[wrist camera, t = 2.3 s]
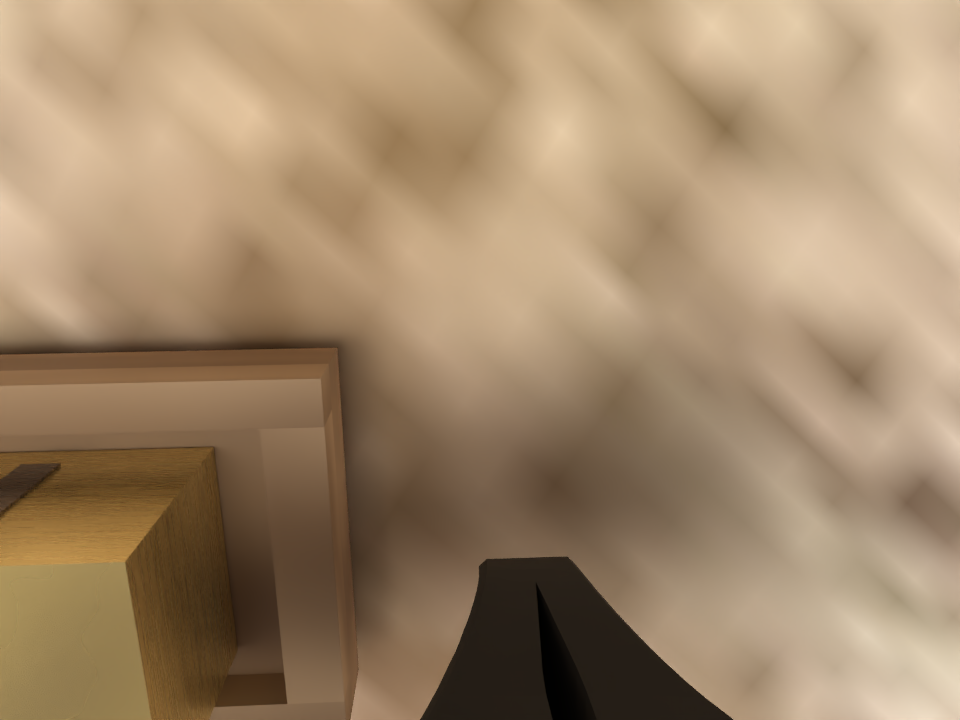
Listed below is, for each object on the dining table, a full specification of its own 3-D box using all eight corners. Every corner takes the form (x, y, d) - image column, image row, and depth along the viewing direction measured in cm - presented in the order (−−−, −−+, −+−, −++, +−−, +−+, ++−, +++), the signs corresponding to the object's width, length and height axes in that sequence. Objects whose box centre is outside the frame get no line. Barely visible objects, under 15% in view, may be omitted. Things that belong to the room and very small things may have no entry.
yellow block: (238, 651, 13) (168, 822, 10) (-43, 662, 13) (-212, 841, 10) (212, 444, 12) (123, 558, 9) (-96, 452, 12) (-311, 572, 8)
